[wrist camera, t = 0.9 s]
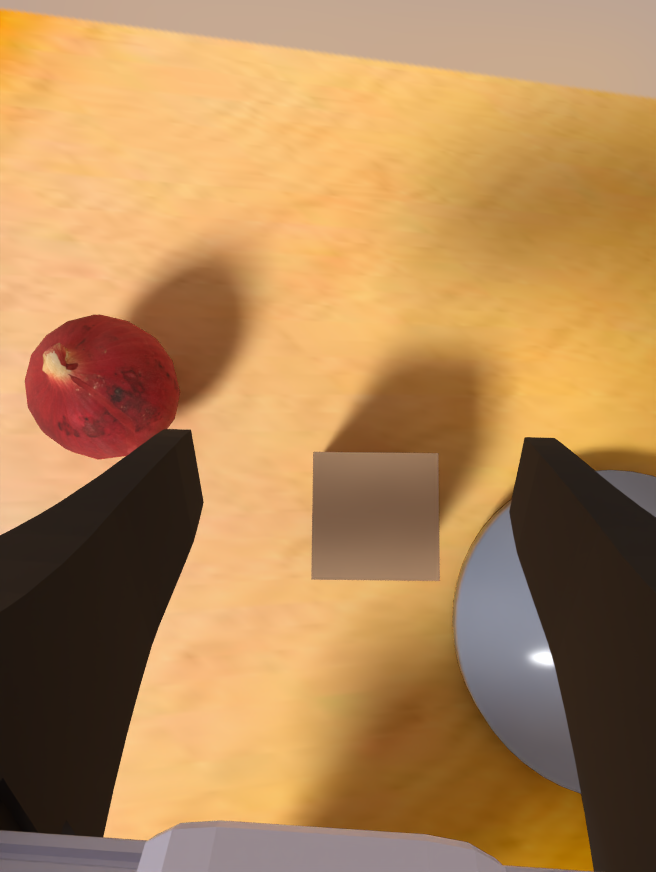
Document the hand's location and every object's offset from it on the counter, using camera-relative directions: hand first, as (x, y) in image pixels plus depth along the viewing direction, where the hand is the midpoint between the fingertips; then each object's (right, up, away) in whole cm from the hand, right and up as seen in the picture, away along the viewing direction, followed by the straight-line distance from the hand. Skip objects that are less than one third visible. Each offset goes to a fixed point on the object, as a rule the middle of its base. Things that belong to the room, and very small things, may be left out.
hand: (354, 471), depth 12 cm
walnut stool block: (+1, -3, +14) cm, 14 cm away
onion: (-10, +2, +15) cm, 18 cm away
